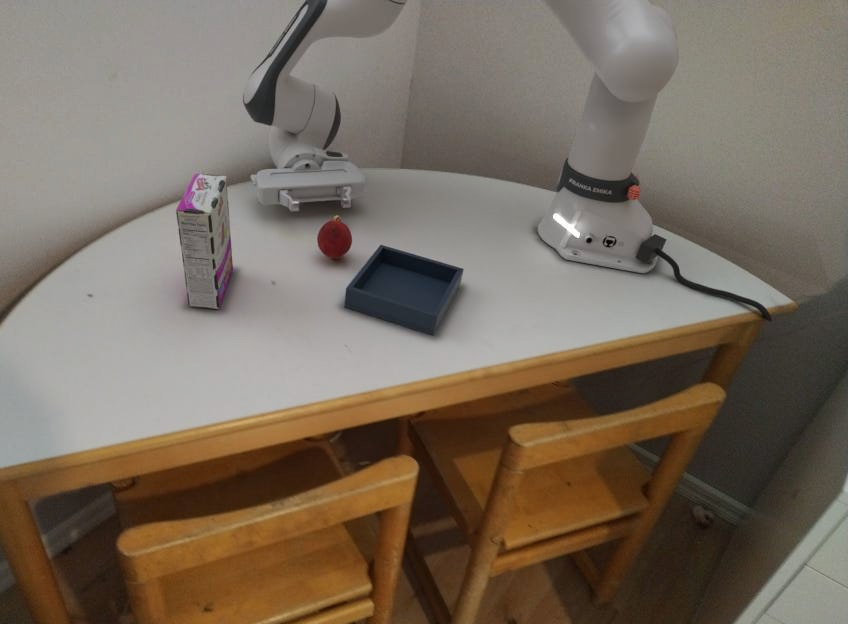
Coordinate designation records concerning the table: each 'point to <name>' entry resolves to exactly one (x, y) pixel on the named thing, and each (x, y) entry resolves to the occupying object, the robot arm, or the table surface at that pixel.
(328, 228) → the onion
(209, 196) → the candy bar box
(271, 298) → the table surface
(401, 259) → the tray
